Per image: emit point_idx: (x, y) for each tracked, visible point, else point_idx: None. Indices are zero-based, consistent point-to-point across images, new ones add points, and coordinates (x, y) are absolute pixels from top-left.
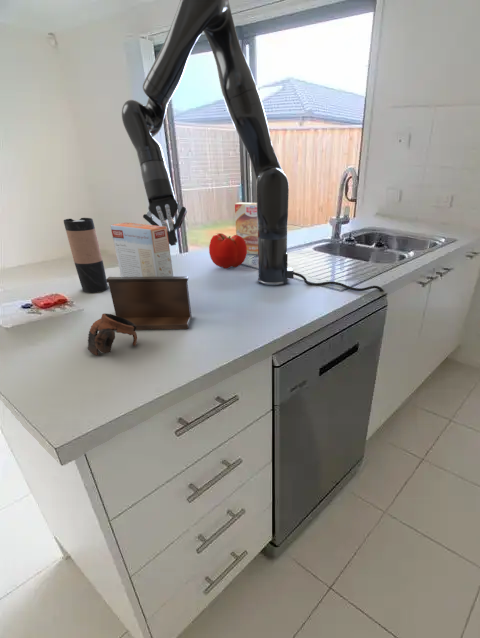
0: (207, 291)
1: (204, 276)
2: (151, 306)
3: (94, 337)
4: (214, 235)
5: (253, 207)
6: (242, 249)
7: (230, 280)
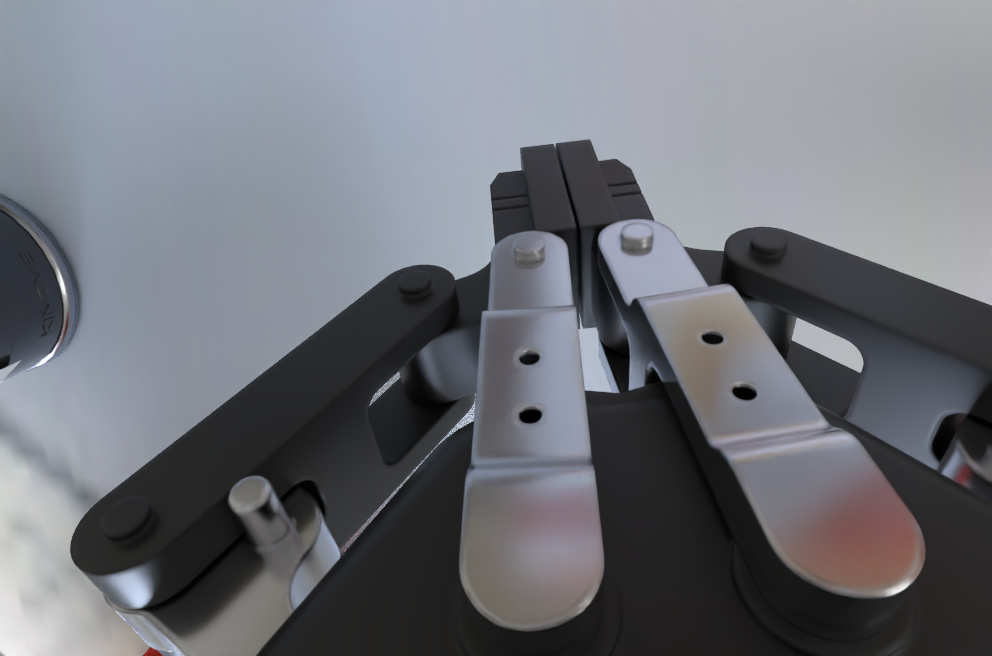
0: (362, 72)
1: None
2: None
3: None
4: None
5: None
6: (146, 652)
7: (258, 328)
